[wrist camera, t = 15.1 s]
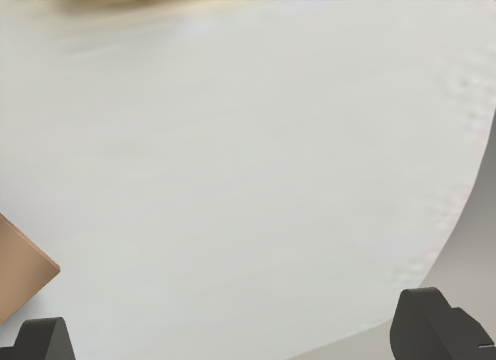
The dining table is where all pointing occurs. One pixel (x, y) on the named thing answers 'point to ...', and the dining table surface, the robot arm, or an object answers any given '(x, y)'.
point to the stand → (20, 269)
